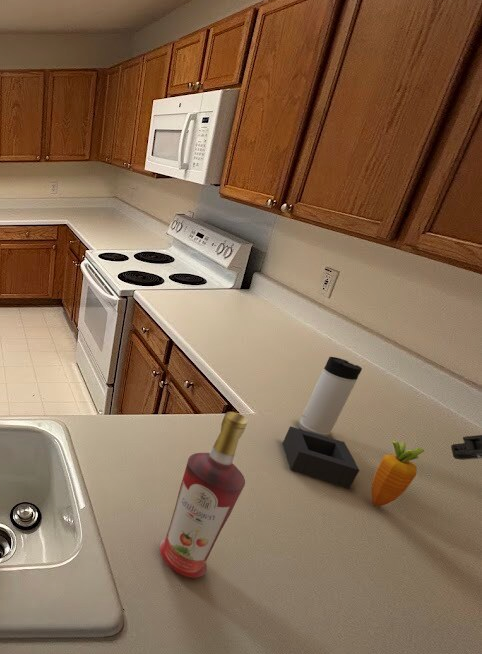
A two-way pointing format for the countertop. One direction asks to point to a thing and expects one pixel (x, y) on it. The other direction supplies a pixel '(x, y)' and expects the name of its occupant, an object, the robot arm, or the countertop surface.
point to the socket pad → (320, 457)
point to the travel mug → (329, 396)
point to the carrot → (394, 474)
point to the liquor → (204, 501)
